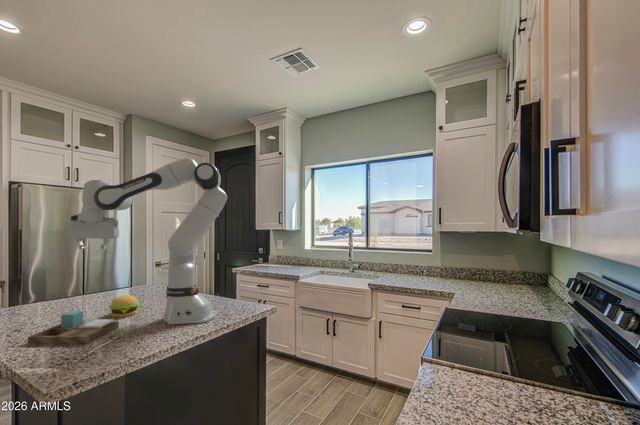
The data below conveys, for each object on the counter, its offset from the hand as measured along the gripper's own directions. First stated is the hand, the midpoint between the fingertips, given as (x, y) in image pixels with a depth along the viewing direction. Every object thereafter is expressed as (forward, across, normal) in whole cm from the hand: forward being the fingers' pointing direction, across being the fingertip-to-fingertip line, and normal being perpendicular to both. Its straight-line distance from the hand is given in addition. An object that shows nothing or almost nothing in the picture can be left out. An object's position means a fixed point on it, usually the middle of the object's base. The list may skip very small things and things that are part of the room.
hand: (92, 249), depth 126 cm
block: (+30, -4, +14) cm, 34 cm away
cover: (+28, -14, +14) cm, 34 cm away
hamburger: (+31, -8, -10) cm, 34 cm away
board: (+31, -9, +18) cm, 37 cm away
